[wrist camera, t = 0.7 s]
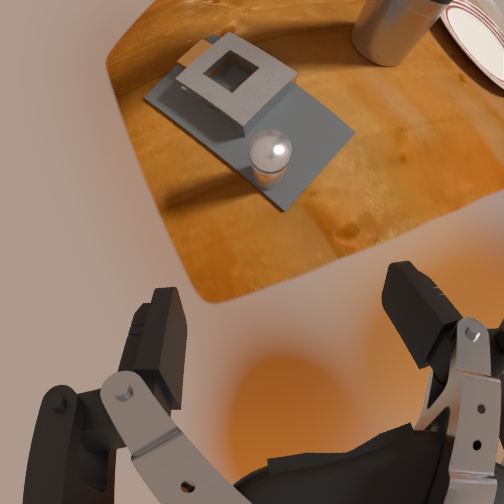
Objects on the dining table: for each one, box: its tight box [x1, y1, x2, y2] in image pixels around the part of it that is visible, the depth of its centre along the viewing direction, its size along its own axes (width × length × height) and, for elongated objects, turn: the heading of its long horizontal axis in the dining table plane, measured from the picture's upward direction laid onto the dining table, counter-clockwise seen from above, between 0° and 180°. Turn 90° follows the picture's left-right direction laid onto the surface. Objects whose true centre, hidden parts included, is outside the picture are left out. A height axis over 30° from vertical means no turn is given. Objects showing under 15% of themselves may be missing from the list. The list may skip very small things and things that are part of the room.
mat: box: [144, 34, 355, 211], centre depth 34 cm, size 14×26×1 cm, turn 49°
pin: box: [249, 129, 292, 189], centre depth 28 cm, size 4×4×12 cm
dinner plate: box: [440, 0, 504, 89], centre depth 28 cm, size 28×27×3 cm
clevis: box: [175, 32, 298, 137], centre depth 31 cm, size 10×14×4 cm
